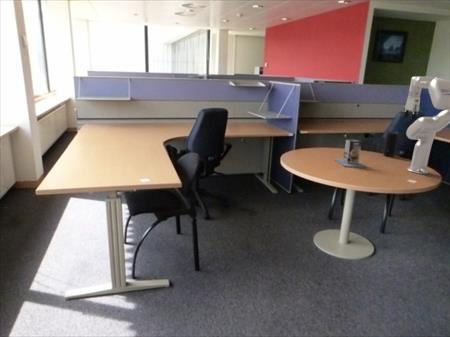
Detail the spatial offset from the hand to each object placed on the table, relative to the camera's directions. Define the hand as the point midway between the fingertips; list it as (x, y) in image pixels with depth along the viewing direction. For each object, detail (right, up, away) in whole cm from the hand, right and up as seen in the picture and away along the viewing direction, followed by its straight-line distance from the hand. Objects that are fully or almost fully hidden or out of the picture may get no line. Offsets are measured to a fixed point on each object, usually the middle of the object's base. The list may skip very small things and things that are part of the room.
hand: (409, 118), depth 250 cm
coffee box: (-43, -32, -1) cm, 54 cm away
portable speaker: (-1, -26, +31) cm, 41 cm away
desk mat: (-43, -33, -1) cm, 54 cm away
